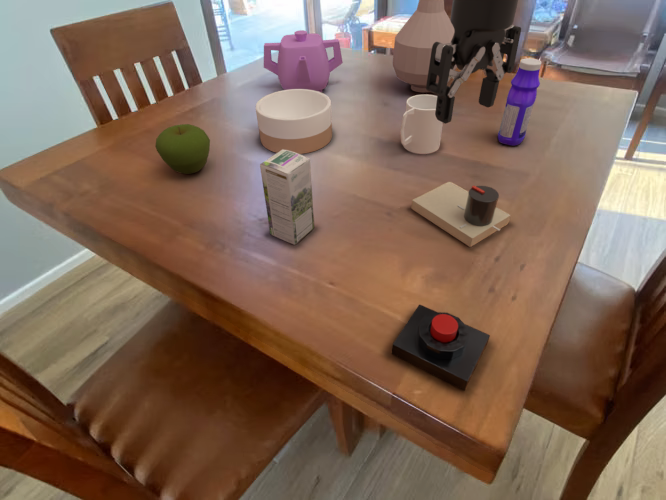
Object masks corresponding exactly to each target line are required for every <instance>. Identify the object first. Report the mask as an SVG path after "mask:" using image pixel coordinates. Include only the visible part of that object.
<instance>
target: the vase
mask: <svg viewBox="0 0 666 500" xmlns="http://www.w3.org/2000/svg"><path fill="white" fill-rule="evenodd" d="M453 35H454V27H453V25H452V23H451V18H450V16H449V15H448V14H447V12H446V10H445V0H418V3H417V7H416V10H415V11H414V12H413V14H412V15H411V16H410V17H409V18H408V20H407V21H406V22H405V24H404V25H403V26H402V27H401V28H400V30H399V31H397V33H396V35H395V36H394V44H393V54H392V67H393V70H394V73H395V76H396V77H397V79H399V80H400V81H401V82H404V83H406V84H408V85H410V89H411V90H412V91H413V92H416V93H431V92H430V91H427V90H426V84H427V77H428V71H429V64H430V58H431V51H432V46H433V44H434V43H435V42H440V43H443V44H446V43H451V40H452V38H453ZM457 69H458V68H457V66H456V65H455V66H454V68H453V70H455V71H457ZM438 81H439V76H438V75H437V79H436V83H438Z"/></svg>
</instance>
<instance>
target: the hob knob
mask: <svg viewBox="0 0 666 500" xmlns="http://www.w3.org/2000/svg"><path fill="white" fill-rule="evenodd" d="M468 192H469V193H468V198H467V202H466V207H465V212H464V219H465V220H466V221H467V222H468V223H470V224H472V225H475V226H486V225H489V224H490V223H491V222H492V220H493V217H494V213H495V209H496V207H497V206H498V202H499V198H500V194H499V192H498V190H496V189H495V188H493V187H490V186H488V185H472V186H471V187H470V189H469V190H468Z"/></svg>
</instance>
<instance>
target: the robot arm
mask: <svg viewBox="0 0 666 500" xmlns="http://www.w3.org/2000/svg"><path fill="white" fill-rule="evenodd" d="M518 3H519V0H452V3H451V4H452V5H451V11H450V21H451V23H452V25H453V27H454V35H453V38H452V40H451V43H446V44H443V43H440V42H435V43H434V44H433V46H432V51H431V58H430V64H429V71H428V77H427V84H426V90H427V91H430V92H429V93H432V94H433V95H435V96H437V103H436V111H435V116H436V118H437V120H439V121H441V122H443V124H449V123H451V122H452V120H453V119H452V118H453V114H454V113H453V112H454V107H455V99H456V96H455V95H456V93H457V91H458V89H459V88H460V86H461V84H463V83H466V82H467V81H468V79H469V77H470V75H471V74H474V73H476V72H477V71H479V70H480V71H482V72H483V75H484V76H485V77H483V78H482V80H481V86H480V92H479V97H478V104H479V105H480V106H483V107H485V108H490V107H491V108H492V107H493V106H494V104H495V101H496V98H497V93H498V89H499V85H500V81H502V80H503V79H504V76H505V75H506V74H507V73H508V74H511V73H512V72H513V70H514V68H515V64H516V63H515V62H516V58H517V53H518V48H519V42H520V37H521V33H522V27H521V26H517V25H515V24H514V21H515V18H516V17H515V16H516V12H517V7H518ZM505 55H506V57H507V58H506V61H504V57H505ZM455 65H456V66H457V68H456V69H458V71H457V70H453V68H454V66H455ZM437 75H438V76H439V81H438V83H436V79H437ZM451 79H452V81H451V83H450V80H451ZM449 83H450V85H448V84H449Z"/></svg>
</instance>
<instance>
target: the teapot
mask: <svg viewBox="0 0 666 500" xmlns="http://www.w3.org/2000/svg"><path fill="white" fill-rule="evenodd" d="M328 48H332V49H333V50H332V51H333V57H331V58H330V59H329V57H328V52H327V50H326V49H328ZM341 50H342V49H341V44H340V40H339V38H335V39H334V38H333V39H323V38H322V36H321V35H320V34H319V33H316V32H315V33H311V32H310V33H308V31H307V30H301V29H300V30H295V31H294V33H293V34H285V35H283V36H282V38H281V40H280V42H265V43H264V44H263V68H264V69H266V70H267V71H269V72H271V73H273V74H275V75H276V76H277V78H278V81H279V84H280V86H281V88H282V90H289V89H308V90H314V91H318V92H321V93H323V91H324V89H326V87H328V86H327V85H328V83H329V81H330V75H331V72H333V71H334V70H336V69H337V68H338V67H339V66H341V65H342V64H343V63H344V61H343V57H342V55H343V54H342V51H341ZM272 51H274V52H275V51H277V52H278V53H277V61H274V60H273V59H272Z"/></svg>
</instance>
